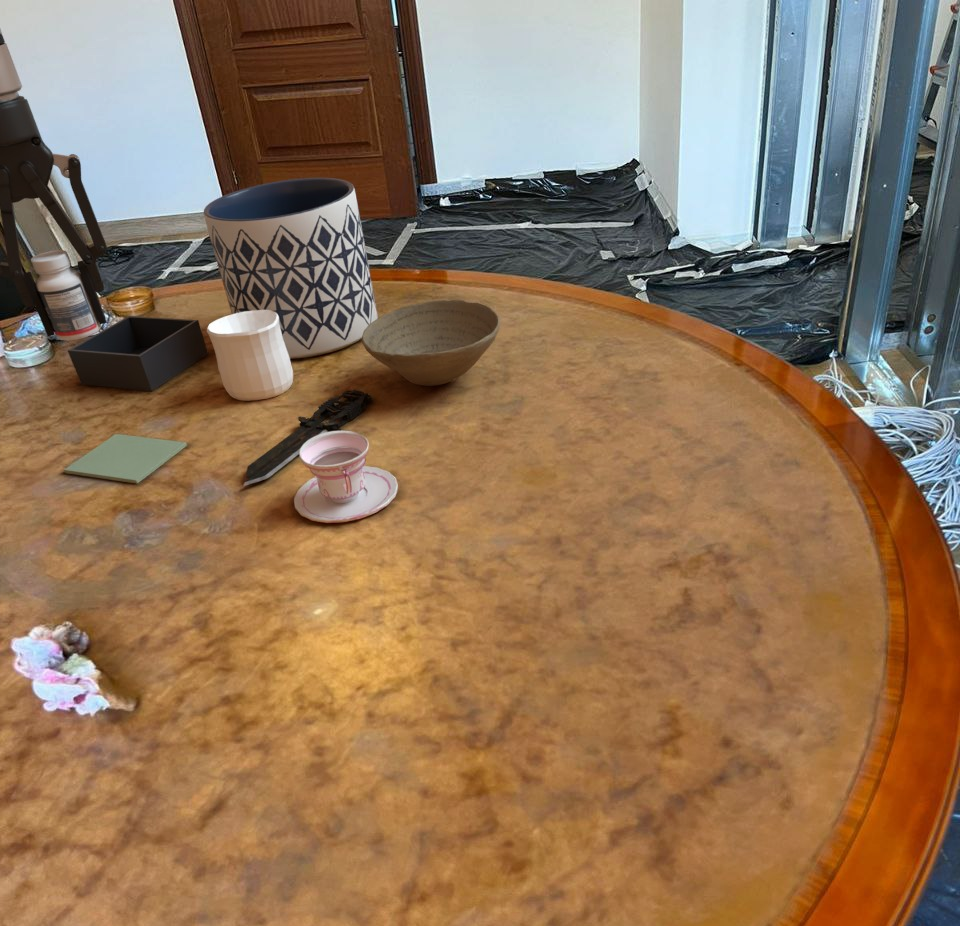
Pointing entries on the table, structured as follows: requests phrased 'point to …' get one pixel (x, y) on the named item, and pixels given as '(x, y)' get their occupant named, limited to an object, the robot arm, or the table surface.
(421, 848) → the table surface
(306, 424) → the knife
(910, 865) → the table surface
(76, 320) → the pill bottle
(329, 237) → the planter
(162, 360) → the box
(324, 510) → the teacup
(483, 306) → the bowl
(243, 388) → the cup
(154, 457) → the mat
